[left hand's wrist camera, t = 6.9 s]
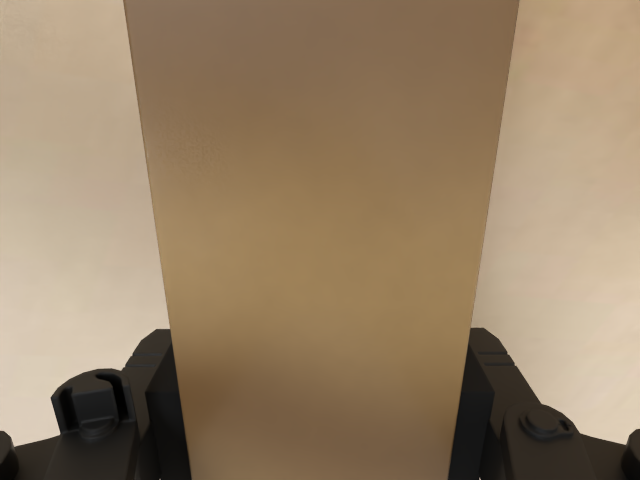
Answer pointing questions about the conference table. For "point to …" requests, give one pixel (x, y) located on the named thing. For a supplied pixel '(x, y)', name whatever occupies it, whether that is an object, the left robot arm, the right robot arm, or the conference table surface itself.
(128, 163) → the conference table surface
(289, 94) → the beam
